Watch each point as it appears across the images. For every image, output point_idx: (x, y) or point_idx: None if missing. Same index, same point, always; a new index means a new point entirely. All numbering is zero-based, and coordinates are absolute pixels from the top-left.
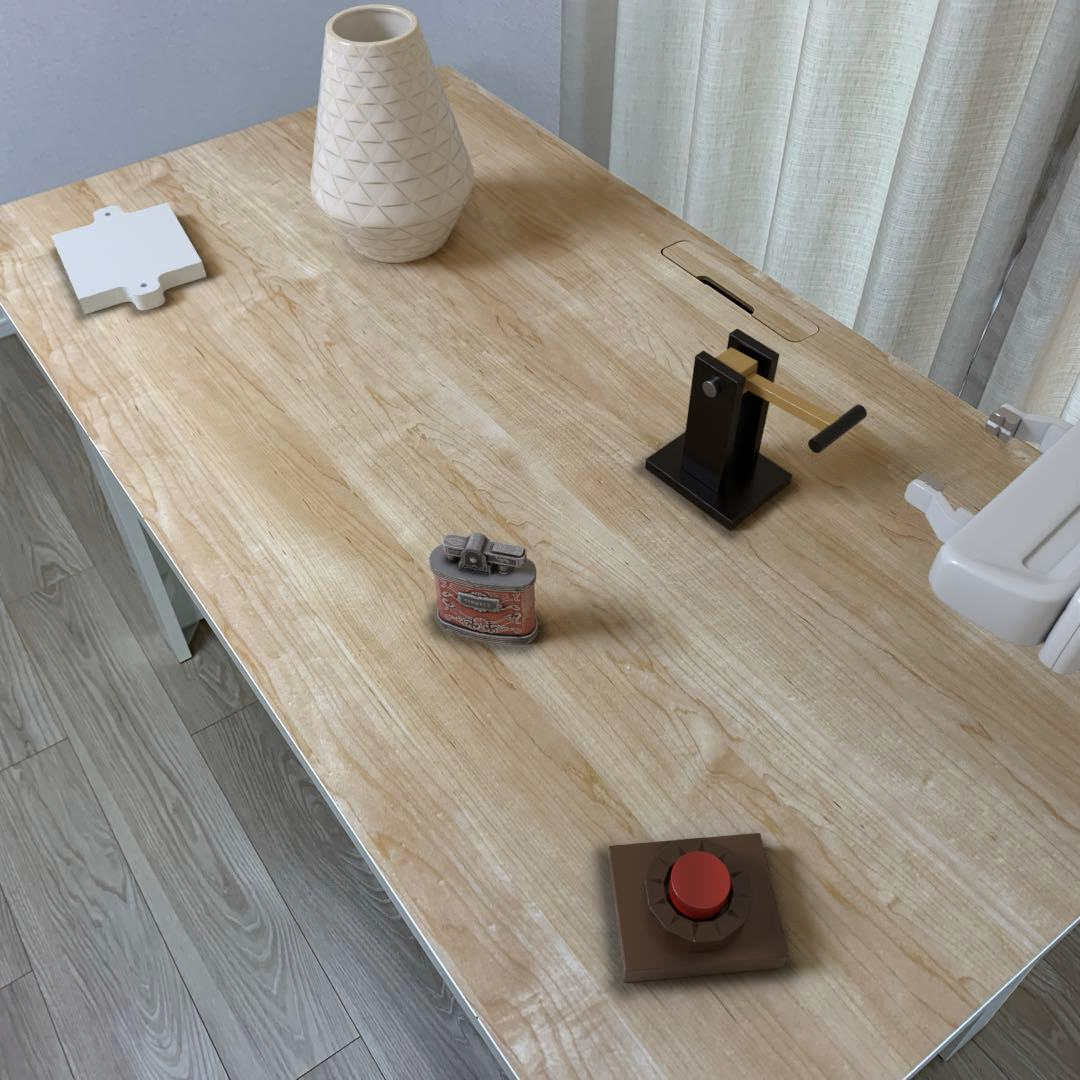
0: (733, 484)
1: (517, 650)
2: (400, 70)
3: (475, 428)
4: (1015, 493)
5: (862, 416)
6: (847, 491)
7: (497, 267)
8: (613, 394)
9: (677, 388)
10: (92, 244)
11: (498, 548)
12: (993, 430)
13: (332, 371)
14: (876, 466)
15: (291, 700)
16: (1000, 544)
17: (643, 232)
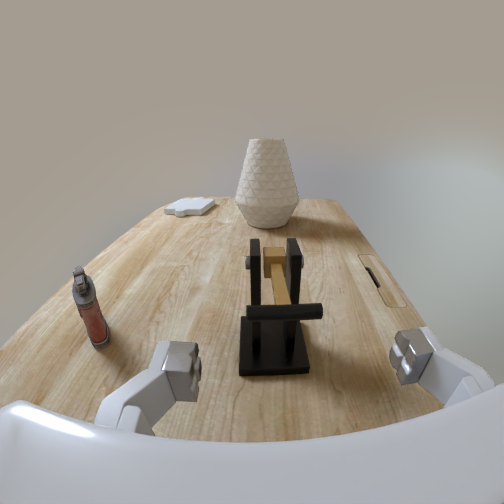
0: (267, 352)
1: (89, 347)
2: (265, 149)
3: (201, 274)
4: (225, 464)
5: (315, 313)
6: (340, 396)
7: (286, 238)
8: (271, 289)
9: (305, 300)
10: (185, 201)
11: (78, 277)
12: (395, 360)
13: (190, 242)
14: (375, 390)
15: (44, 307)
16: (43, 480)
17: (357, 247)
